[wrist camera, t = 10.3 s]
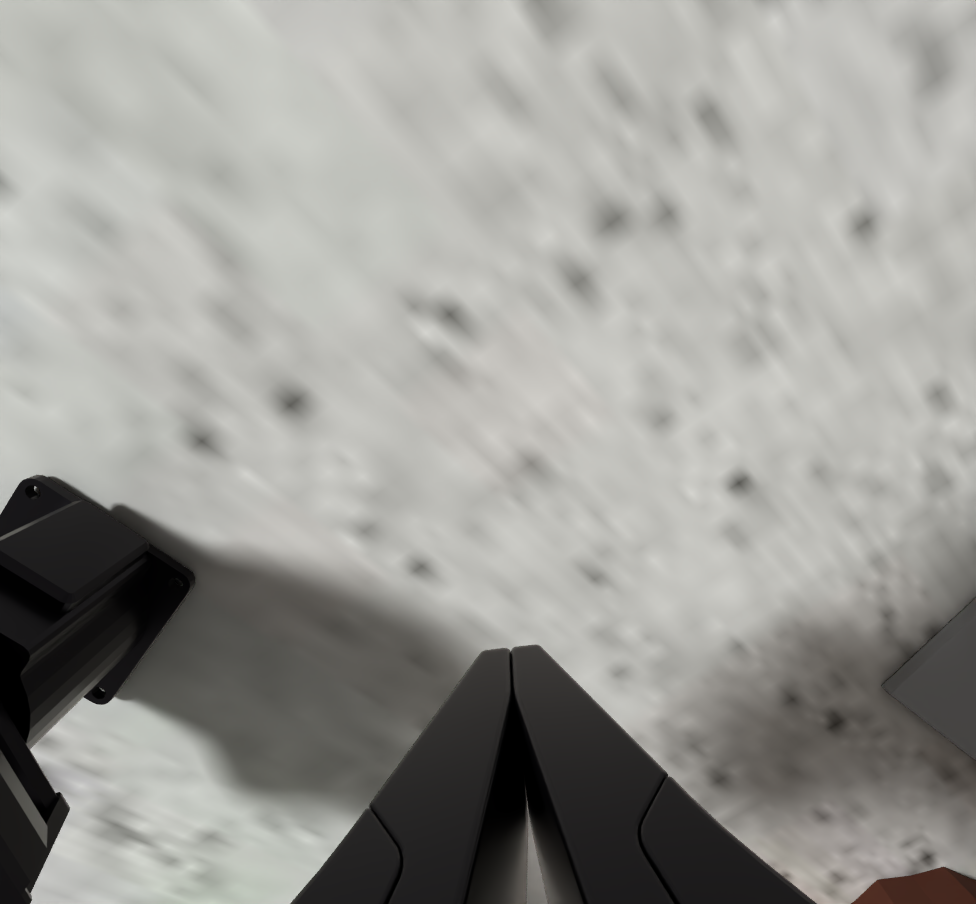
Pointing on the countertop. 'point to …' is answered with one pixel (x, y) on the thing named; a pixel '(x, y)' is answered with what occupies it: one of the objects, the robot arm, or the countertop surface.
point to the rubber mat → (944, 681)
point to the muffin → (922, 889)
